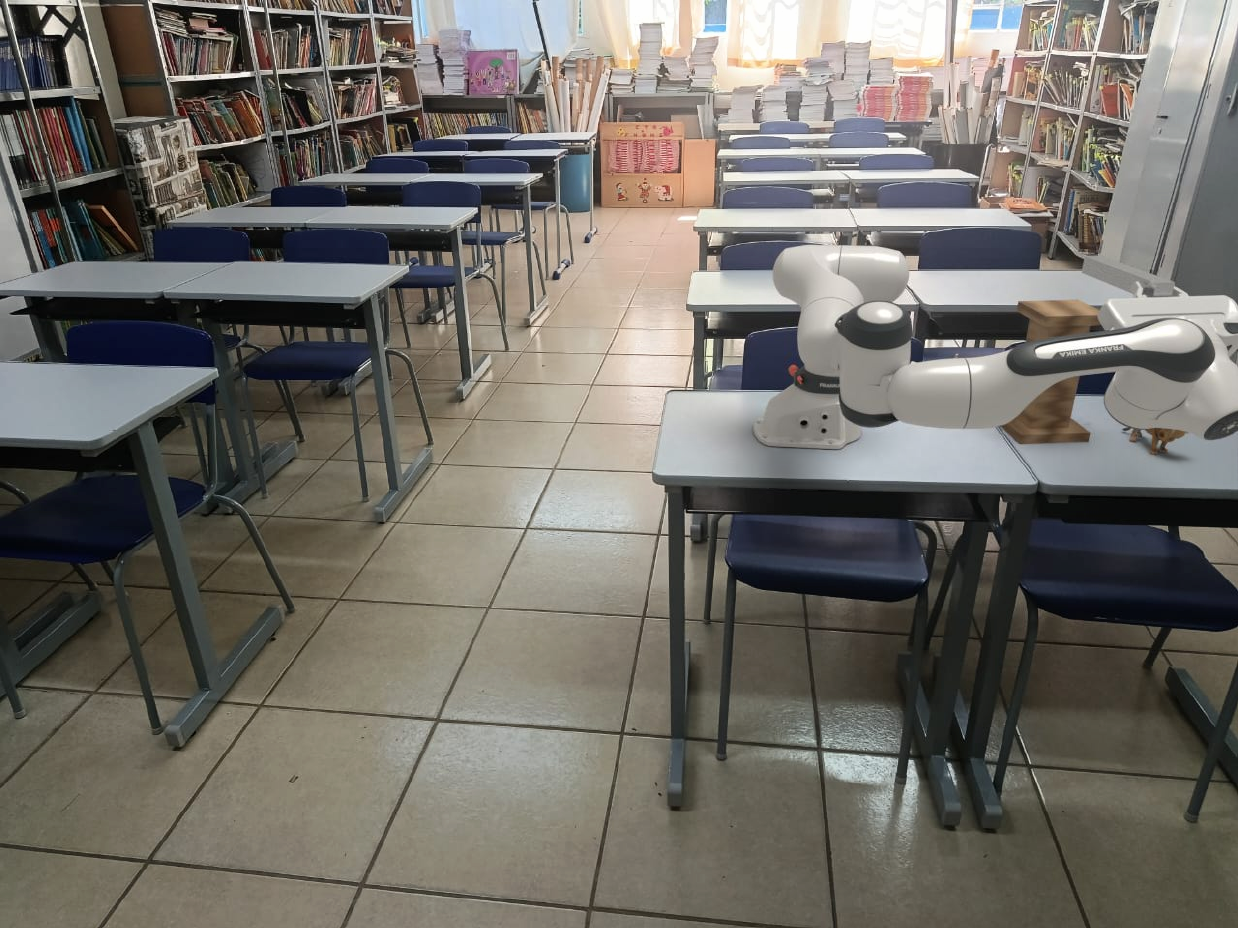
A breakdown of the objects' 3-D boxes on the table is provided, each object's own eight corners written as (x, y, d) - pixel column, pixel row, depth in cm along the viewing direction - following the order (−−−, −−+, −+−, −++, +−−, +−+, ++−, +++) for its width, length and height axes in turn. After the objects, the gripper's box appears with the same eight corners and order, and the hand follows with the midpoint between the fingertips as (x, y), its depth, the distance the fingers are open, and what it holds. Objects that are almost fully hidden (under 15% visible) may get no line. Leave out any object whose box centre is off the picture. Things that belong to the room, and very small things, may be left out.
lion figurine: (1189, 459, 159) (1202, 415, 155) (1165, 462, 158) (1177, 418, 154) (1132, 430, 172) (1142, 390, 168) (1109, 433, 171) (1119, 392, 167)
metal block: (1151, 301, 133) (1156, 283, 132) (1081, 272, 153) (1084, 256, 152) (1170, 301, 133) (1175, 282, 132) (1097, 272, 153) (1101, 255, 152)
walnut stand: (1019, 443, 168) (1043, 318, 157) (990, 418, 180) (1011, 300, 169) (1088, 441, 168) (1117, 316, 157) (1055, 416, 180) (1079, 298, 169)
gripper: (1108, 361, 130) (1078, 300, 138) (1238, 357, 130) (1201, 296, 138) (1127, 333, 125) (1095, 271, 133) (1263, 329, 125) (1222, 267, 133)
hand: (1150, 284), depth 136 cm, fingers closed on metal block, 3 cm apart
